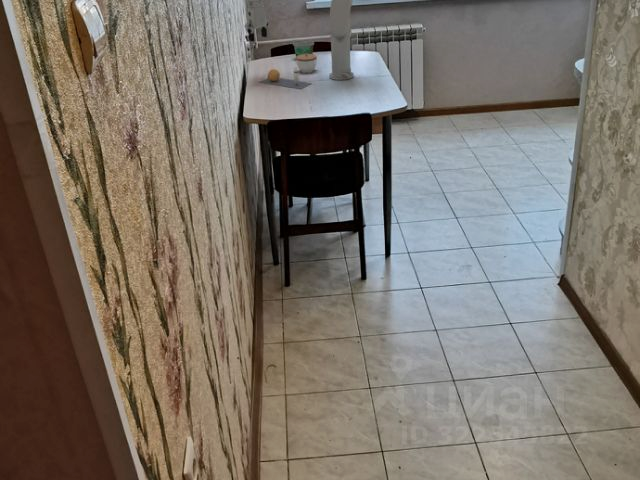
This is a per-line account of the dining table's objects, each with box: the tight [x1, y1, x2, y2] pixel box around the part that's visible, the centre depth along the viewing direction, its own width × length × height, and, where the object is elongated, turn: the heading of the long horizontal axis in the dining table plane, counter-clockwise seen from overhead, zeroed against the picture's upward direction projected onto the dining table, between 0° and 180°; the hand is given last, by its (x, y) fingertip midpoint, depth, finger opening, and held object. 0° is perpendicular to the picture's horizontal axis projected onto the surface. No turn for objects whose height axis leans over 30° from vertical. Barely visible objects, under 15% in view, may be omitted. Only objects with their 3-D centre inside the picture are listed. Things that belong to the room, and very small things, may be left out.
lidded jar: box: [295, 53, 318, 74], centre depth 349 cm, size 11×11×9 cm
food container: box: [292, 40, 315, 58], centre depth 368 cm, size 12×6×10 cm, turn 73°
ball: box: [267, 68, 281, 81], centre depth 336 cm, size 6×6×6 cm
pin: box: [293, 66, 299, 85], centre depth 329 cm, size 2×2×8 cm
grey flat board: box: [259, 77, 313, 90], centre depth 334 cm, size 26×10×1 cm, turn 56°
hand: (258, 38), depth 335 cm, fingers open, 9 cm apart
